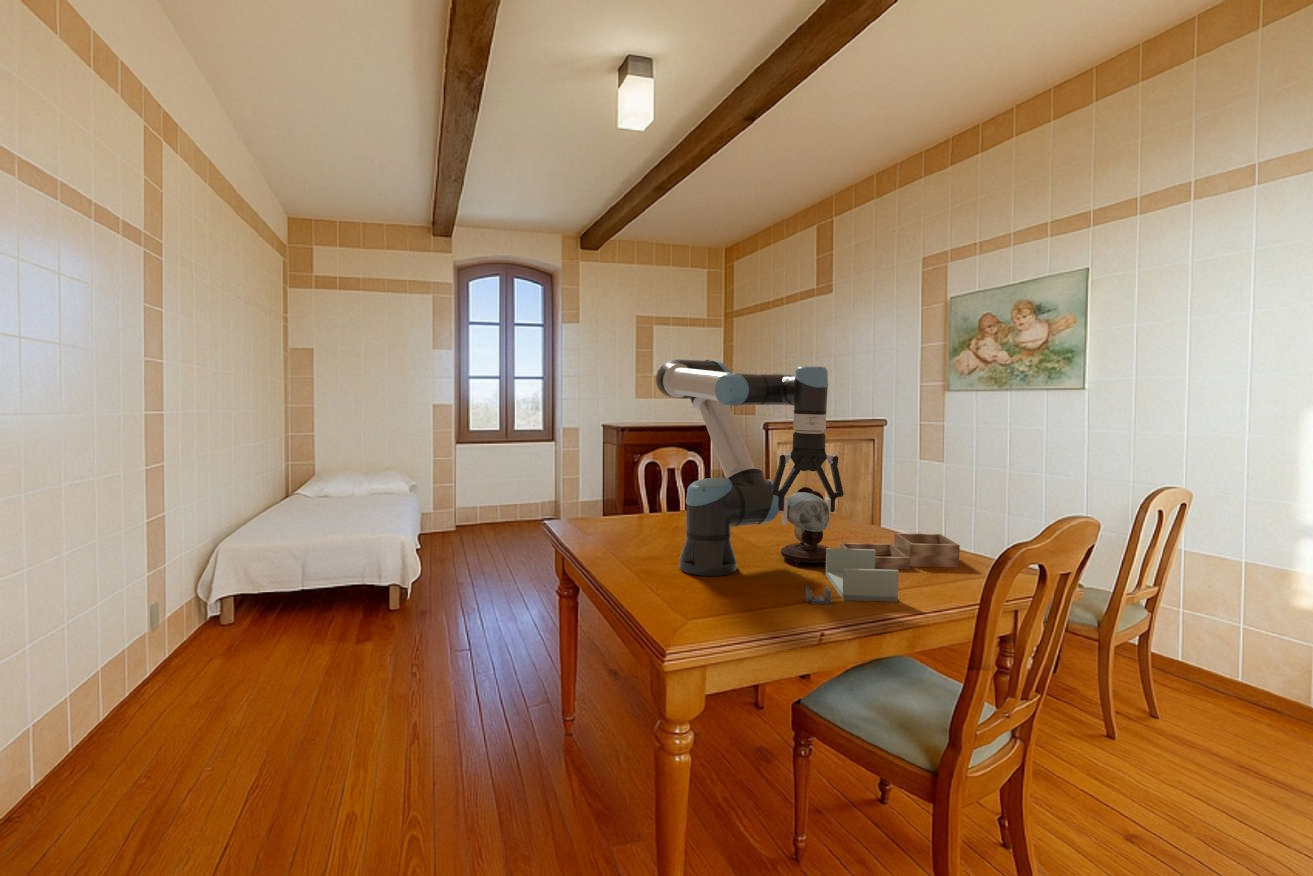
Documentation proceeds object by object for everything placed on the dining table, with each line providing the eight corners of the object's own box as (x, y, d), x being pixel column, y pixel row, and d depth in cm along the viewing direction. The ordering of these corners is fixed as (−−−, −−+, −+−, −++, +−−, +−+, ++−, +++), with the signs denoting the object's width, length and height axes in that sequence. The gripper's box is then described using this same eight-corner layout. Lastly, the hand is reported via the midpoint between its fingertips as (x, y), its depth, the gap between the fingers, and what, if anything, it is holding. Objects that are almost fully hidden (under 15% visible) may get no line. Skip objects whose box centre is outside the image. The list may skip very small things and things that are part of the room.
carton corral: (909, 566, 170) (910, 544, 169) (893, 553, 183) (894, 533, 182) (958, 567, 169) (959, 545, 169) (939, 554, 182) (940, 534, 182)
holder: (843, 600, 142) (844, 569, 142) (825, 575, 161) (826, 548, 161) (897, 601, 142) (898, 571, 141) (873, 576, 161) (874, 549, 160)
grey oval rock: (843, 520, 144) (822, 482, 145) (808, 540, 143) (786, 501, 144) (824, 521, 158) (805, 486, 159) (792, 539, 157) (772, 503, 158)
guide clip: (808, 603, 140) (808, 590, 140) (805, 599, 143) (806, 586, 143) (830, 604, 140) (831, 591, 139) (827, 599, 142) (828, 586, 142)
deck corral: (852, 567, 168) (852, 556, 168) (838, 553, 183) (839, 542, 182) (909, 569, 167) (910, 558, 167) (891, 554, 182) (891, 544, 182)
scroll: (774, 553, 181) (775, 485, 180) (823, 552, 183) (825, 484, 181) (790, 568, 167) (792, 494, 165) (844, 567, 168) (846, 493, 167)
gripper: (764, 432, 146) (761, 527, 148) (860, 434, 145) (856, 529, 147) (760, 429, 153) (757, 520, 155) (852, 431, 152) (848, 522, 154)
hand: (805, 524), depth 151 cm, fingers closed on grey oval rock, 9 cm apart
